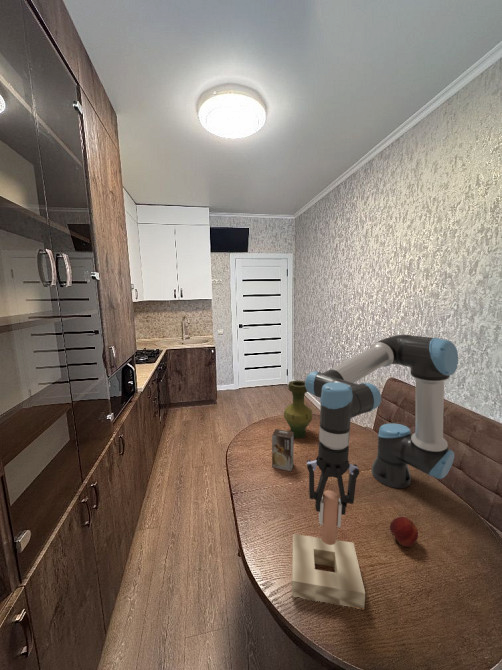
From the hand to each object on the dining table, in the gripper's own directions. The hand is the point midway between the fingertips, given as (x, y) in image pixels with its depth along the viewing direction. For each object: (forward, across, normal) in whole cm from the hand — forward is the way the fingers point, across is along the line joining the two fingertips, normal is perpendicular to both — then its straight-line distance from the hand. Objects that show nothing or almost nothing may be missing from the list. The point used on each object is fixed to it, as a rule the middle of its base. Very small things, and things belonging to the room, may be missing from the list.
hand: (329, 521), depth 73 cm
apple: (+17, -26, -15) cm, 34 cm away
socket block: (+17, +1, 0) cm, 17 cm away
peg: (+5, 0, 0) cm, 5 cm away
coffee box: (+17, +14, -48) cm, 53 cm away
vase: (+17, +7, -78) cm, 80 cm away
